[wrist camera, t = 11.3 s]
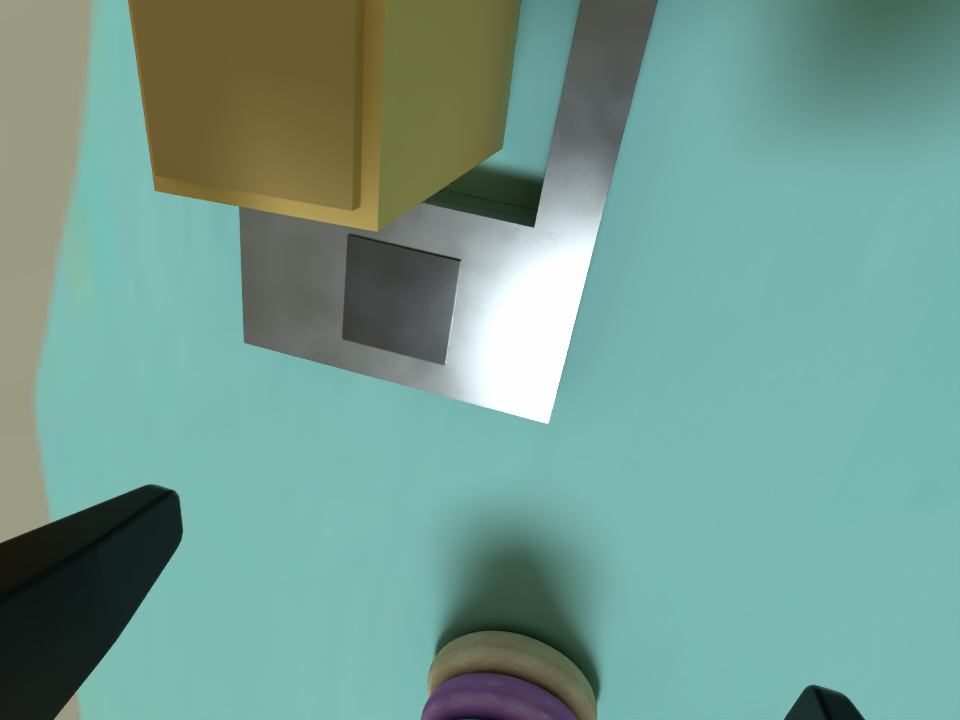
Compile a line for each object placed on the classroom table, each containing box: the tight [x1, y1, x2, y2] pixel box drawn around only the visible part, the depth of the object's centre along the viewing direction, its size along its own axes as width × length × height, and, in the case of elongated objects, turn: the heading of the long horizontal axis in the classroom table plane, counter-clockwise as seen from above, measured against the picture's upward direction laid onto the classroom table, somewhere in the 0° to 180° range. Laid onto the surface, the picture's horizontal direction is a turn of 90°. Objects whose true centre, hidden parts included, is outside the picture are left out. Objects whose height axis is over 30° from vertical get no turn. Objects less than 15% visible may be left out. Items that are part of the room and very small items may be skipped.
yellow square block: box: [128, 0, 521, 232], centre depth 13 cm, size 4×4×10 cm
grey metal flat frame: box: [239, 0, 657, 424], centre depth 17 cm, size 11×16×2 cm
